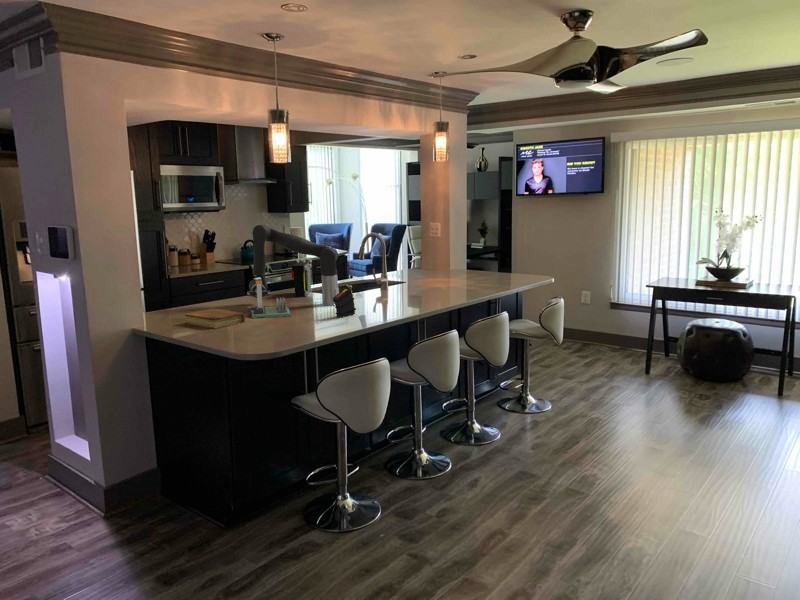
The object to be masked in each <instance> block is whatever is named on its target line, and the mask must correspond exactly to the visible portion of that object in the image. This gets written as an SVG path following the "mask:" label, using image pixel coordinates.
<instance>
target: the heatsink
mask: <svg viewBox="0 0 800 600" xmlns="http://www.w3.org/2000/svg"><path fill="white" fill-rule="evenodd" d="M286 306H287V302H286V299H285V297H276V305H275V307H276V309H277V312H278V313H283V312H287V309H286ZM263 307H264V311H265V314H266V309H265V307H266V305H264V306H263ZM257 308H258V307H257V306H248V307H247V317H248V316H251V317H252V311H251V310H254V314H263V309H257Z"/></svg>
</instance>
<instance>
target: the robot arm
mask: <svg viewBox="0 0 800 600" xmlns="http://www.w3.org/2000/svg"><path fill="white" fill-rule="evenodd" d="M252 241H253V265H252V267H253V268H252V274H253V276H255V277H257V278H260V280H262V284H261V288H262V298H263V297H267V296H271V290H270V289H269V290H268V282H267V279H266V266H267V265H266V264H267V260H266V255H265V243H266V242H268V243H269V242H270V243H273V244H276V245H278V246H280V247H282V248H284V249H286V250H288V251H290V252H293V253H296V254H301V255H306V256H307V255H308V256H313V257H315V258H319V264H320V272H321V298H322V300H321V303H322V305H324V306H335V305H334V304H335V302H333V297H335V296H336V295H337V294H338V293H340V287H339V286H338V285H339V284H338V283H339V282H338V270H337V260H338V258H339V252H338V251H337V249H336V248H334V247H332V246H328V245H327V246H326V245H323V244H318V243H315V242H313V241H311V240H308V239H306V238H303V237H300V236H299V235H293V234H290V233H286V232H281V231H278V230H276V229H274V228H272V227H269V226H268V225H264V224H257V225H255V226H254V227H253V229H252ZM256 280H257V279H252V280H250V282H249V284H248V289H249V290H247V292H246V295H247V297H251V298H252V297H253V298H256V299H257V284H256Z"/></svg>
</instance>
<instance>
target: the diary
mask: <svg viewBox="0 0 800 600" xmlns="http://www.w3.org/2000/svg"><path fill="white" fill-rule="evenodd" d="M245 315H246V314H245V313H244V312H241V311H233V310H228V309H227V310H226V309H219V308H213V307H212V308H208V309H204V310H198V311H192V312H187V313H184V316H185V317H186V322H185V323H184V324H185V325H188V326H189V325H190V326H195V327H200V328H206V329H213V330H219V329H223V328H226V327H227V326H228V327H232V326H236V325H239V324H238V323H240V324H244V323H245V322H246V316H245ZM243 322H244V323H243ZM235 324H236V325H235ZM231 325H232V326H231Z"/></svg>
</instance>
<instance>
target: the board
mask: <svg viewBox="0 0 800 600" xmlns="http://www.w3.org/2000/svg"><path fill="white" fill-rule="evenodd" d="M256 308H257V309H258V307H256ZM262 308H264V306H262ZM265 309H266V314H265V311H264V313H263V314H254V313H253V310H252V311H251V319H258V318H257V317H269V318H279V317H278V316H287V317H291V316H292V314H291V313H292V312H290V309H289V307H288V306H287V305H286V309H287V312H283V313H278V312H277V309H276V306H269V307H268V306H267V307H266V306H265Z"/></svg>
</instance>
